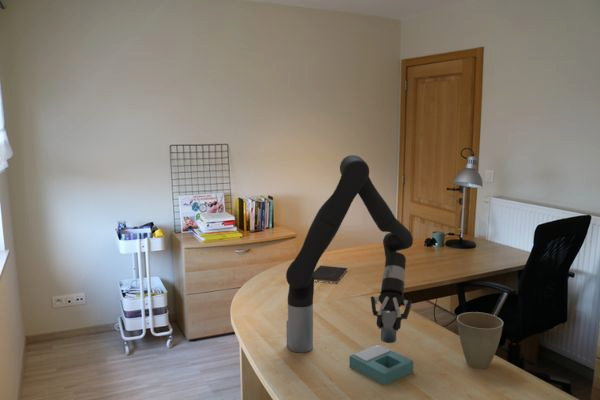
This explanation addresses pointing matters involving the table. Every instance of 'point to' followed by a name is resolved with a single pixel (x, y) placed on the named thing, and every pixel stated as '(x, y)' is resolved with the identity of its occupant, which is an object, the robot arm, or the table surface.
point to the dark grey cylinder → (388, 325)
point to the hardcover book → (329, 273)
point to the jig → (381, 364)
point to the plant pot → (479, 337)
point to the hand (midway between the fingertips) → (388, 328)
